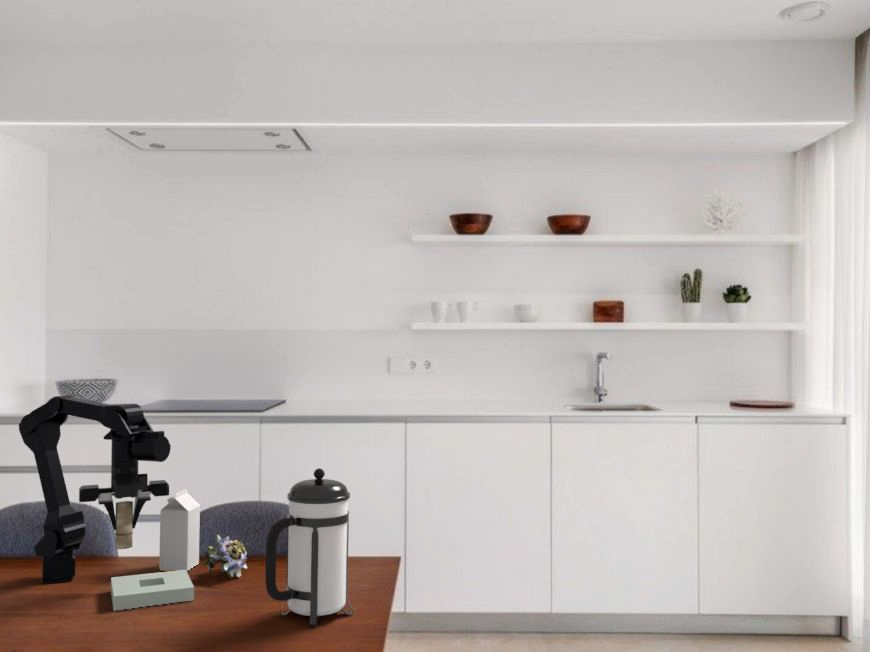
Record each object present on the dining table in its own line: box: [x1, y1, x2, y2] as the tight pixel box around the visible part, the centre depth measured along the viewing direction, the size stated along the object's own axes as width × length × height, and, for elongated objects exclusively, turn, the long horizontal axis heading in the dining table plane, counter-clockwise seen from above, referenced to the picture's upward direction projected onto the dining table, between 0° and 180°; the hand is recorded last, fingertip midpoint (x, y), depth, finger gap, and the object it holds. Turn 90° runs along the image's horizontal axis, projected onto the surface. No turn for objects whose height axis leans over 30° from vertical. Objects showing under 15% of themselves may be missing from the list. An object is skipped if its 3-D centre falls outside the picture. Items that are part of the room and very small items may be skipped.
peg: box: [114, 500, 134, 550], centre depth 174 cm, size 4×4×10 cm
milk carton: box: [158, 488, 201, 571], centre depth 189 cm, size 7×7×19 cm
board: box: [110, 570, 195, 612], centre depth 168 cm, size 16×14×3 cm
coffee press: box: [265, 468, 354, 628], centre depth 157 cm, size 17×16×30 cm
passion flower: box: [202, 534, 248, 579], centre depth 184 cm, size 11×11×12 cm
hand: (124, 529), depth 174 cm, fingers closed on peg, 4 cm apart
